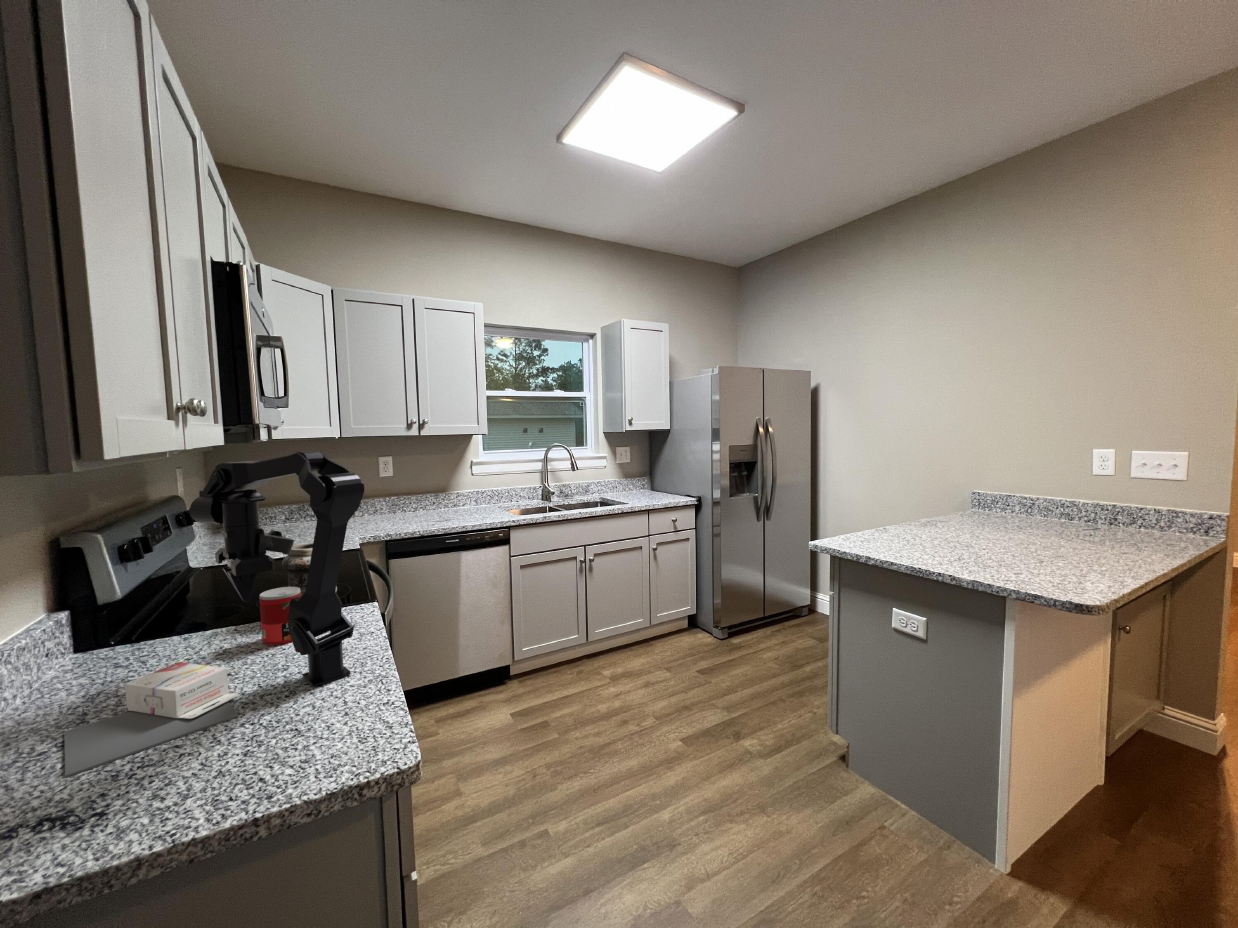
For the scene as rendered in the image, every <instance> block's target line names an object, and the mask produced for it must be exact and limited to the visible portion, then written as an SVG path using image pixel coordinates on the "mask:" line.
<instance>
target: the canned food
mask: <svg viewBox="0 0 1238 928" xmlns="http://www.w3.org/2000/svg"><path fill="white" fill-rule="evenodd" d="M299 596H301V591H300V588H298V587H288V586H281V587H277V588H272V589H268V590H265V591H262V592H261V593H260V594H259V615H260V628H261V629H260V630H261V639H262V640H261V641H262V642H263V644H264V645H266V646H281V644H282V645H286V644H289V643H293V642H292V639H291V636H290V633H289V630H288V622H289V620H287V619H286V618H287V616H288V614H289V604H290V601H291V599H293V598H296V597H299Z"/></svg>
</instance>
